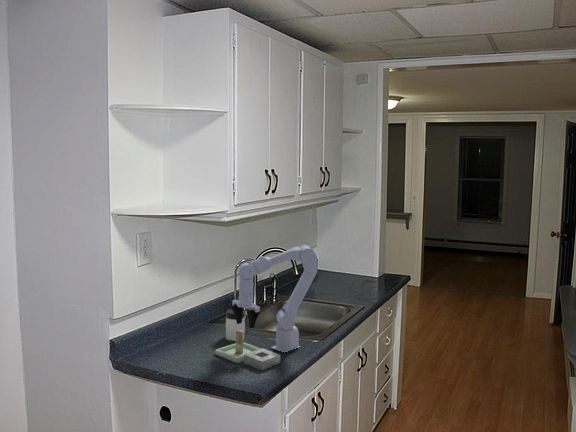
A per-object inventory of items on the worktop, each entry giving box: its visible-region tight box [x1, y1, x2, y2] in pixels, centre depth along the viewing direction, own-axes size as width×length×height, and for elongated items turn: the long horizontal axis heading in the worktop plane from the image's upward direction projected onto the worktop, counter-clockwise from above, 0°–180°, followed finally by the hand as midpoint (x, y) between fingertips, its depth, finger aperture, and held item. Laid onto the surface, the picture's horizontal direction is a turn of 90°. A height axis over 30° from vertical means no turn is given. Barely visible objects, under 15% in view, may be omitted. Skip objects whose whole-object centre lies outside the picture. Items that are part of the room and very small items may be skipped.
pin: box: [234, 330, 244, 354], centre depth 225 cm, size 3×3×9 cm
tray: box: [214, 341, 261, 364], centre depth 225 cm, size 14×13×2 cm
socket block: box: [243, 347, 281, 371], centre depth 216 cm, size 10×10×4 cm
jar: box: [225, 308, 246, 342], centre depth 244 cm, size 9×8×12 cm
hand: (245, 325), depth 229 cm, fingers open, 7 cm apart
